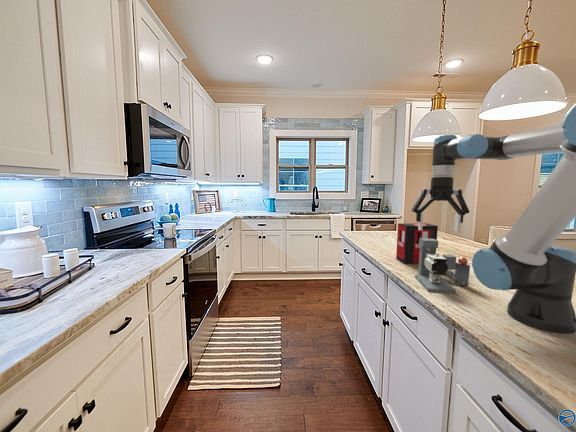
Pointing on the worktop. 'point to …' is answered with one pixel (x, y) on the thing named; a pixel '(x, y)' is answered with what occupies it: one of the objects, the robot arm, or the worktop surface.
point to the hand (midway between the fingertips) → (438, 230)
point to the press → (423, 272)
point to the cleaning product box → (412, 241)
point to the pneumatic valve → (435, 266)
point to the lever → (461, 272)
